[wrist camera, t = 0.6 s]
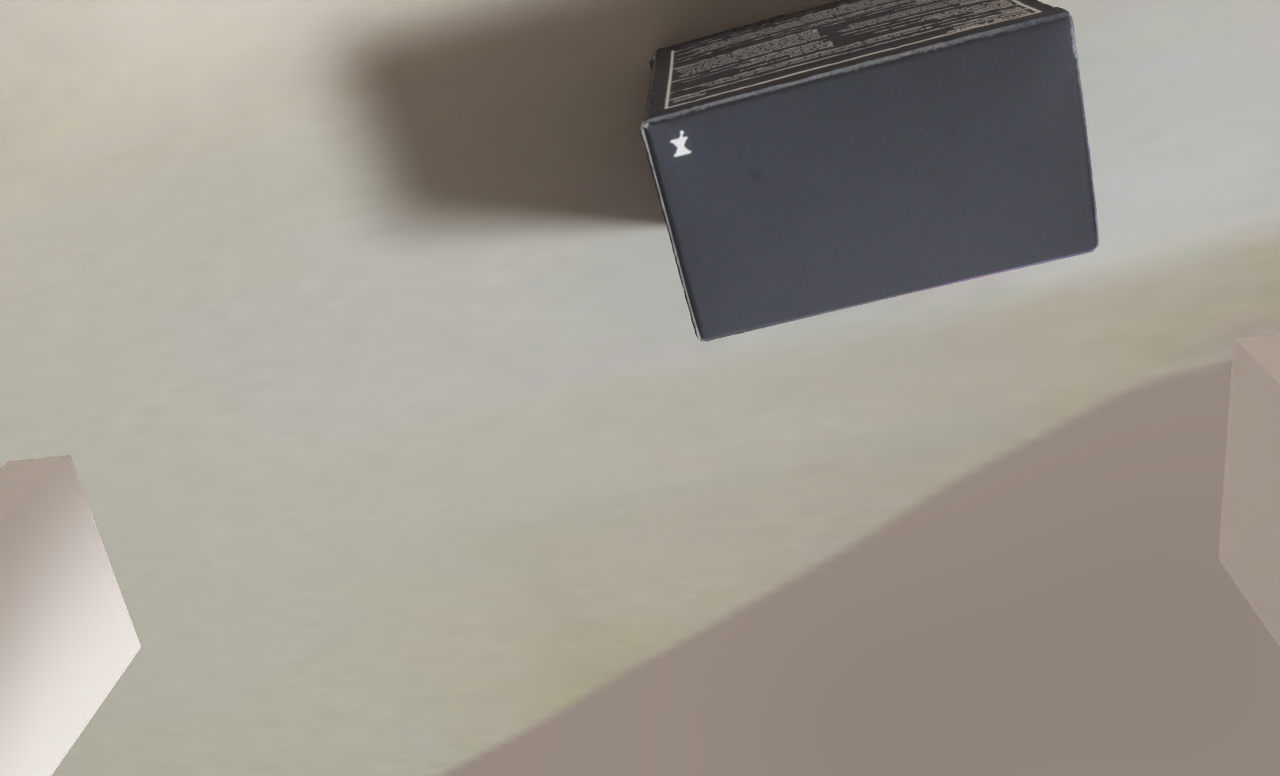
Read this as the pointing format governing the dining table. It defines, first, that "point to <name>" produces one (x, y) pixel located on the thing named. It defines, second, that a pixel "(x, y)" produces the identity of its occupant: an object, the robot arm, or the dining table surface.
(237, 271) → the dining table surface
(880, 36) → the small box
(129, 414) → the dining table surface
